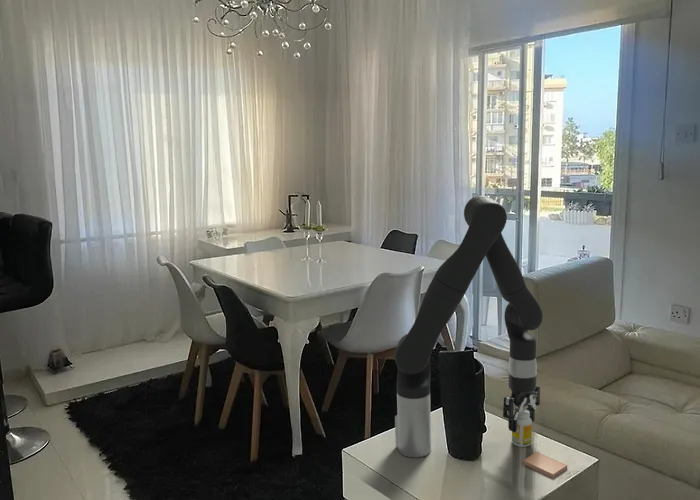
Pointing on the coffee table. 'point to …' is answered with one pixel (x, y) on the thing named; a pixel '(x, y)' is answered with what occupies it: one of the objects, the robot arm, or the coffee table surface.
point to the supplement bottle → (523, 429)
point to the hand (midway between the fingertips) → (521, 425)
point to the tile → (545, 464)
